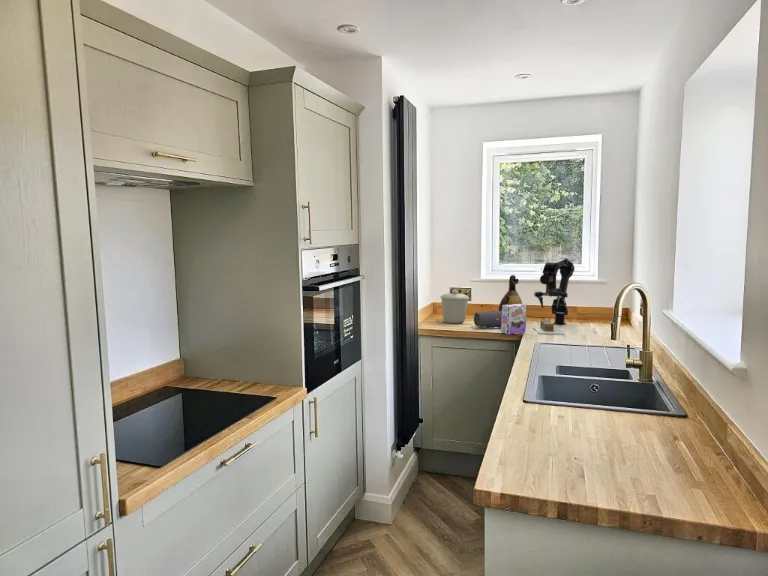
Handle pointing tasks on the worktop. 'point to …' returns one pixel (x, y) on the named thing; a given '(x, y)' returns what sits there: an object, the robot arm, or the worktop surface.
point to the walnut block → (547, 325)
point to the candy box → (513, 319)
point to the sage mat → (541, 331)
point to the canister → (454, 307)
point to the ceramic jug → (511, 294)
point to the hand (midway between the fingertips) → (550, 308)
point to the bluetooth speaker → (488, 319)
